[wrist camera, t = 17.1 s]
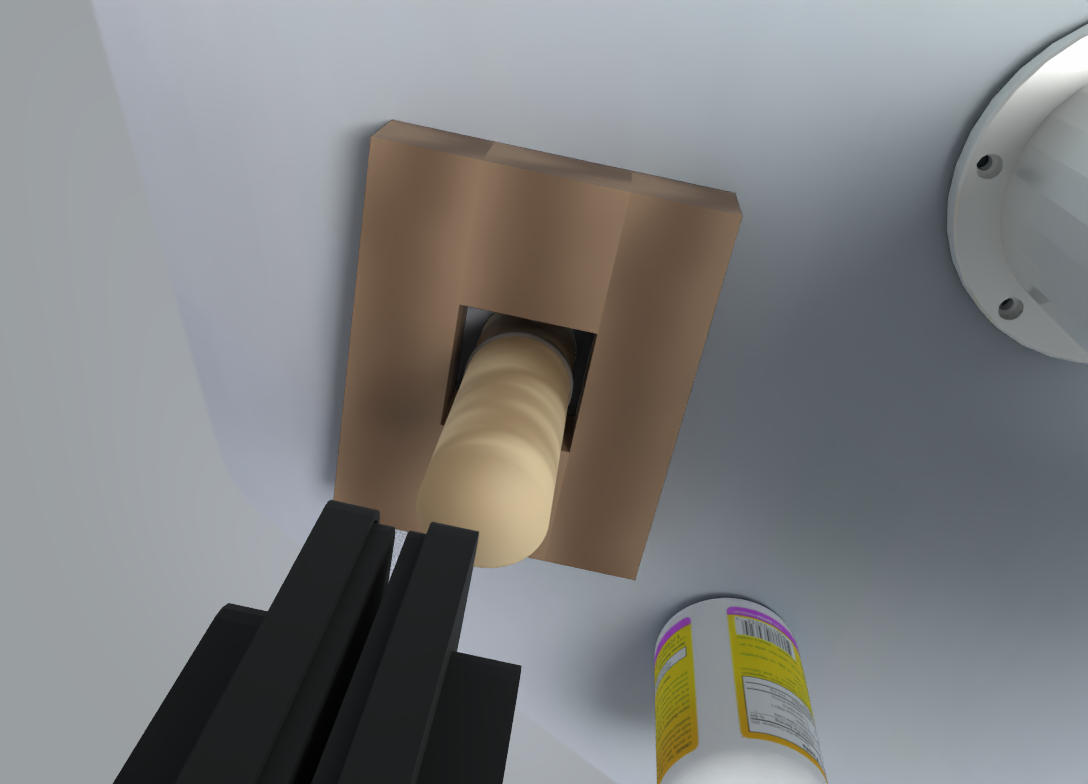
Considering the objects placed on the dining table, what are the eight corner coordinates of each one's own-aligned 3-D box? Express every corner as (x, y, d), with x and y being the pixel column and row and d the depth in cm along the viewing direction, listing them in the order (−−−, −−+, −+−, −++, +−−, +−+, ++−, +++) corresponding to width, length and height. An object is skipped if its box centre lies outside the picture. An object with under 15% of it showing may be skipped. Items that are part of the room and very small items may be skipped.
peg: (588, 312, 38) (564, 469, 27) (567, 402, 40) (538, 582, 29) (486, 290, 38) (422, 438, 27) (470, 381, 40) (405, 554, 29)
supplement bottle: (671, 708, 47) (678, 964, 35) (639, 603, 44) (637, 844, 33) (808, 689, 45) (862, 949, 34) (785, 579, 43) (835, 823, 31)
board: (735, 193, 35) (742, 215, 32) (635, 538, 42) (634, 580, 40) (391, 119, 35) (370, 136, 32) (351, 477, 42) (331, 515, 40)
